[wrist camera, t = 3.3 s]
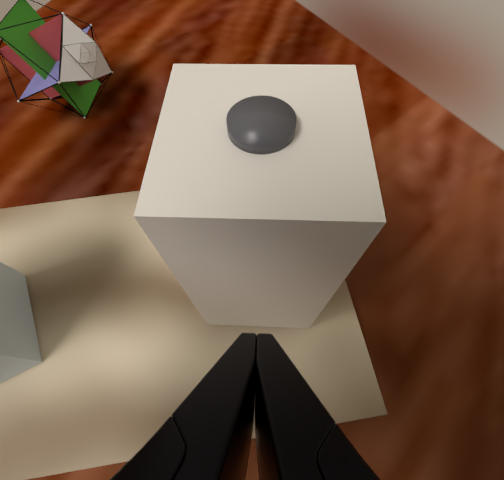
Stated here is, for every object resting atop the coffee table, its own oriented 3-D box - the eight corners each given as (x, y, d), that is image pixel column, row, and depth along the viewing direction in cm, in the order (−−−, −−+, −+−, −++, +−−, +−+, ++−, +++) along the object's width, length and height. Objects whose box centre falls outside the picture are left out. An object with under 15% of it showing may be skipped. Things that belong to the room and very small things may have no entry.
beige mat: (379, 413, 14) (387, 414, 13) (-148, 508, 13) (-179, 516, 12) (307, 178, 20) (310, 168, 20) (-46, 225, 19) (-61, 216, 18)
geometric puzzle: (-25, 104, 21) (-39, -1, 15) (15, 46, 25) (17, -58, 19) (84, 150, 25) (107, 80, 19) (108, 96, 28) (133, 21, 22)
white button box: (309, 328, 15) (392, 213, 6) (207, 324, 15) (127, 207, 6) (304, 238, 17) (358, 53, 8) (216, 235, 17) (170, 52, 8)
